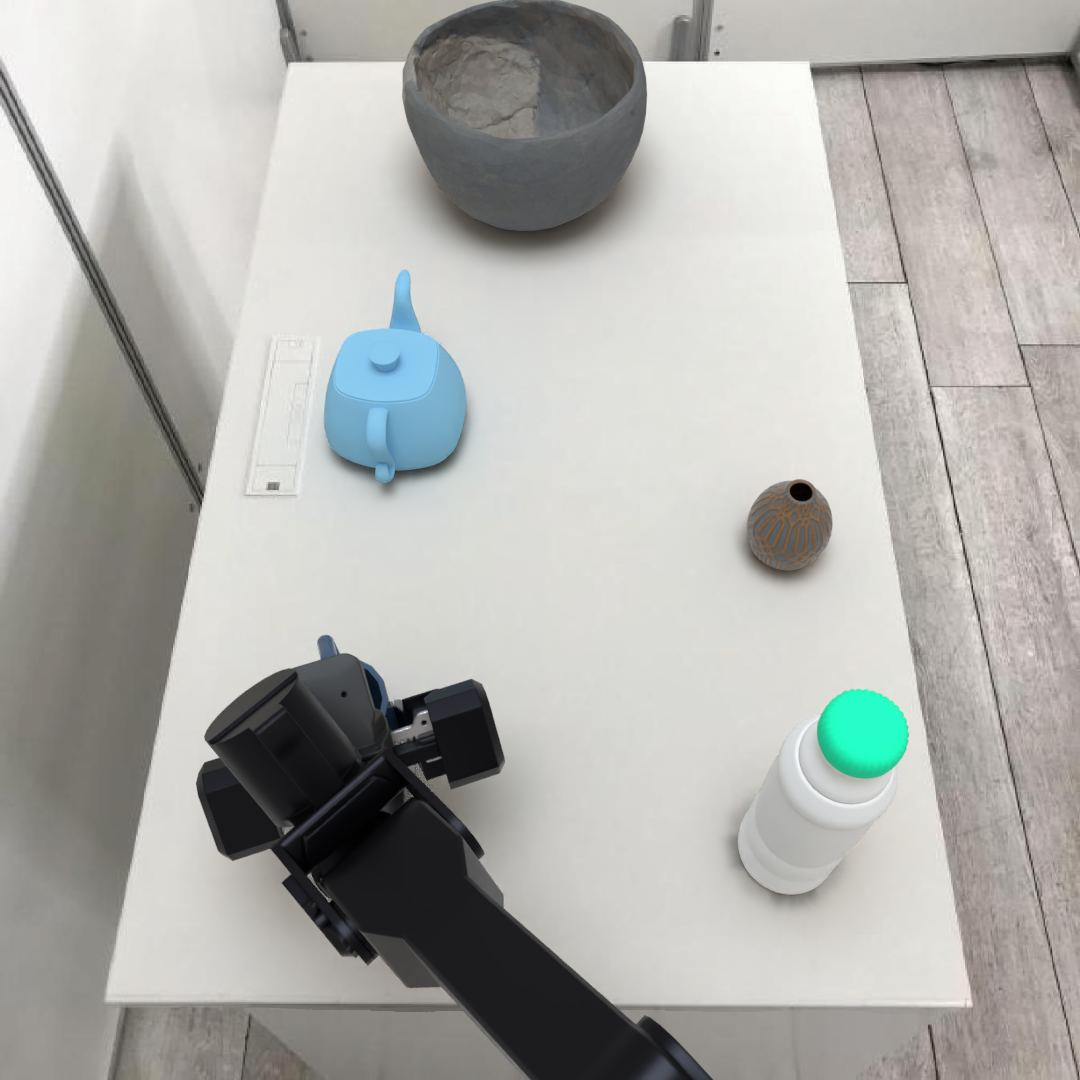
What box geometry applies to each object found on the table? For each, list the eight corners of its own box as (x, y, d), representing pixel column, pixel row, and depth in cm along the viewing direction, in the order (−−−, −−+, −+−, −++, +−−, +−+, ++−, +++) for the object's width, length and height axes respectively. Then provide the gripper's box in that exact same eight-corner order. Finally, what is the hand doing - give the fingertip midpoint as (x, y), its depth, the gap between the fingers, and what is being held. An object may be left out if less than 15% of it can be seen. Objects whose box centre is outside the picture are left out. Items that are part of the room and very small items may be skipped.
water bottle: (822, 910, 76) (924, 806, 55) (726, 878, 78) (789, 764, 56) (840, 818, 80) (944, 685, 58) (748, 788, 81) (816, 648, 60)
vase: (733, 570, 91) (750, 516, 83) (749, 505, 94) (766, 447, 87) (814, 591, 90) (838, 537, 82) (827, 524, 93) (851, 466, 86)
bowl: (426, 111, 123) (411, -15, 110) (639, 114, 122) (648, -12, 109) (403, 265, 110) (383, 144, 97) (640, 270, 109) (651, 148, 96)
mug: (424, 798, 80) (398, 734, 69) (336, 826, 79) (294, 767, 68) (393, 681, 85) (363, 604, 74) (309, 707, 84) (267, 633, 73)
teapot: (472, 268, 95) (445, 430, 86) (479, 348, 104) (456, 502, 95) (332, 261, 96) (291, 420, 86) (352, 341, 105) (316, 493, 96)
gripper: (480, 643, 61) (445, 578, 75) (151, 745, 58) (183, 657, 73) (527, 814, 63) (485, 719, 78) (215, 919, 61) (233, 800, 76)
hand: (349, 721), depth 76 cm, fingers closed on mug, 7 cm apart
